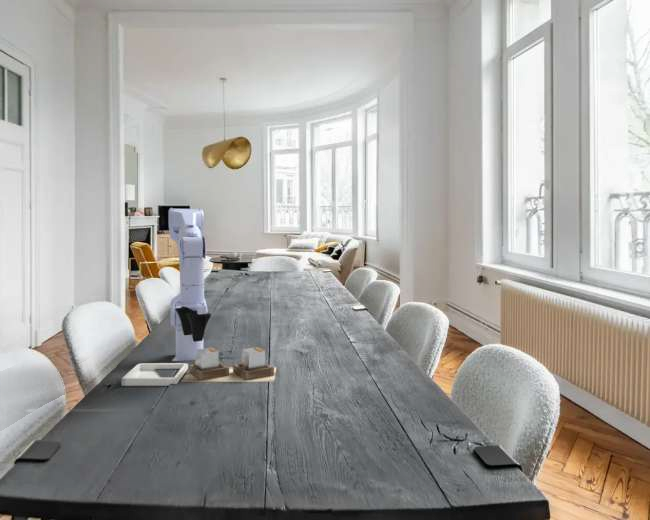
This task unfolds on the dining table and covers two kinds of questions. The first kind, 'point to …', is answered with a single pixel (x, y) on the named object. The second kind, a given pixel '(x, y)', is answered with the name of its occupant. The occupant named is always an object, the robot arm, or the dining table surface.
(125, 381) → the white square tray
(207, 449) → the dining table surface
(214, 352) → the loose billet
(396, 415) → the dining table surface
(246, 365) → the seated billet
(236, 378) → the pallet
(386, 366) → the dining table surface
